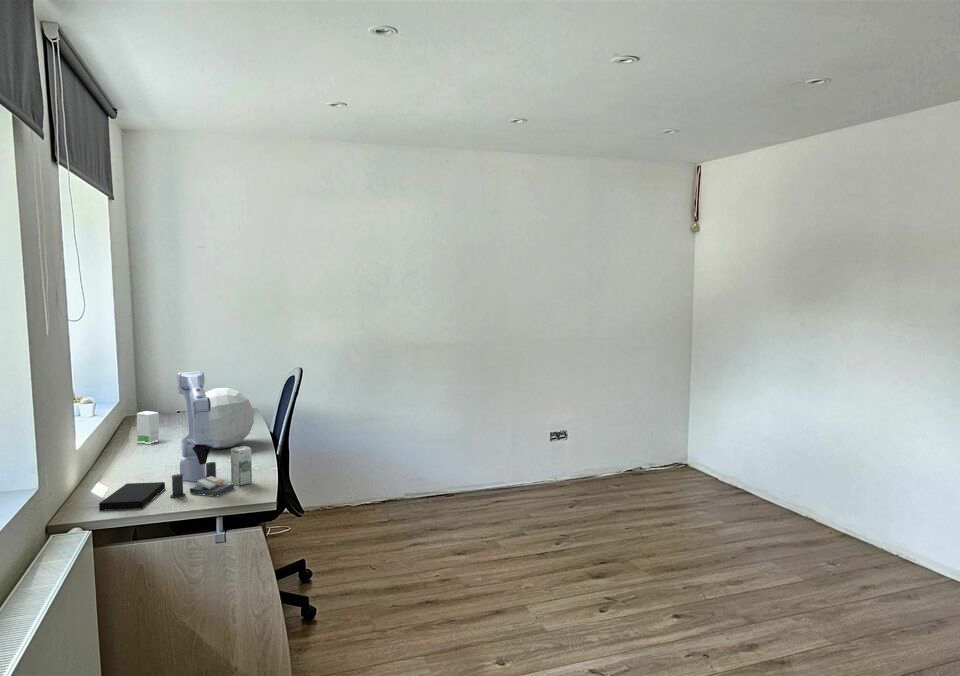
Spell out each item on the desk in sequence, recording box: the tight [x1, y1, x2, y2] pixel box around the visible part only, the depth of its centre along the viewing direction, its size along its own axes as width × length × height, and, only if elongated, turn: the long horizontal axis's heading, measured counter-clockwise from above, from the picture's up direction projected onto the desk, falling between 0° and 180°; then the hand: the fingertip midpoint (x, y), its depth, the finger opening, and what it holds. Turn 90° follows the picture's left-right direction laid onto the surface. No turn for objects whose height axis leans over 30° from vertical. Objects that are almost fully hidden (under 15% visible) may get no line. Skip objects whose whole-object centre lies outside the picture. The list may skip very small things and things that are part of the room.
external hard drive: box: [98, 481, 166, 511], centre depth 241 cm, size 14×23×3 cm, turn 7°
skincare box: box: [136, 410, 160, 442], centre depth 329 cm, size 8×7×16 cm
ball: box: [205, 387, 255, 449], centre depth 319 cm, size 30×30×30 cm
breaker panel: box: [189, 482, 235, 497], centre depth 250 cm, size 12×10×3 cm
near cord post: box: [169, 473, 187, 499], centre depth 244 cm, size 5×5×8 cm
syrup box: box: [230, 445, 253, 487], centre depth 260 cm, size 6×6×14 cm
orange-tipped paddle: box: [205, 476, 225, 485], centre depth 252 cm, size 6×3×1 cm, turn 72°
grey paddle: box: [196, 479, 216, 489], centre depth 248 cm, size 6×3×1 cm, turn 72°
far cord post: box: [205, 461, 217, 478], centre depth 261 cm, size 5×5×8 cm
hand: (202, 463), depth 251 cm, fingers closed
